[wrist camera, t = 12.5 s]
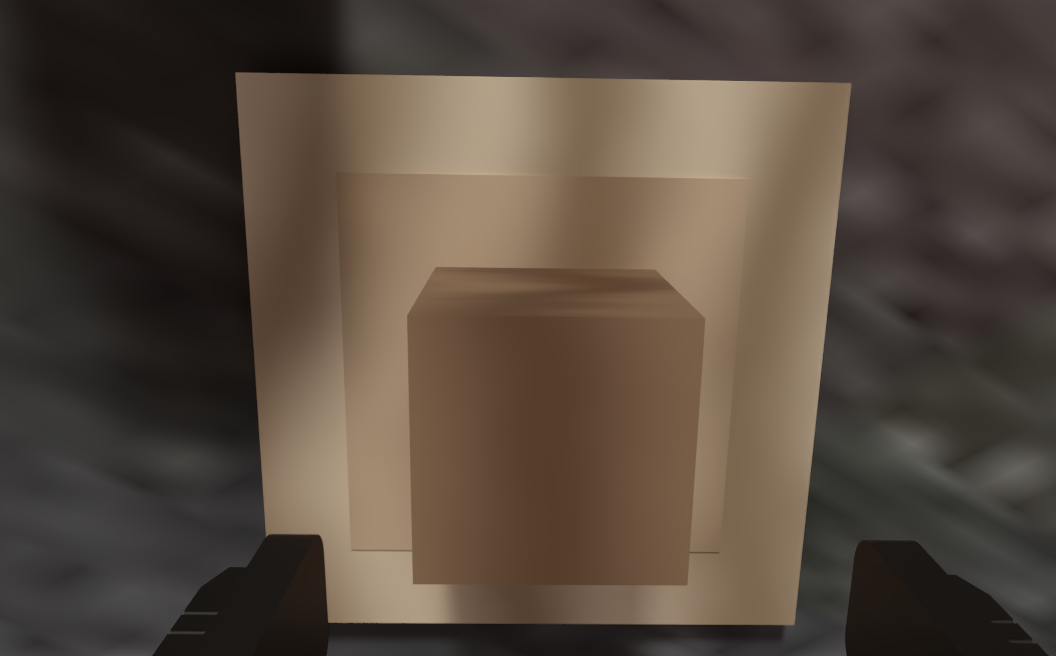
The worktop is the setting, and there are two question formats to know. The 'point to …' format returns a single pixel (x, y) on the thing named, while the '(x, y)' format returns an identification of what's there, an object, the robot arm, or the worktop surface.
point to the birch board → (537, 242)
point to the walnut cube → (552, 427)
